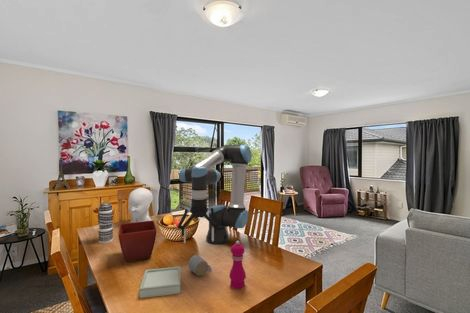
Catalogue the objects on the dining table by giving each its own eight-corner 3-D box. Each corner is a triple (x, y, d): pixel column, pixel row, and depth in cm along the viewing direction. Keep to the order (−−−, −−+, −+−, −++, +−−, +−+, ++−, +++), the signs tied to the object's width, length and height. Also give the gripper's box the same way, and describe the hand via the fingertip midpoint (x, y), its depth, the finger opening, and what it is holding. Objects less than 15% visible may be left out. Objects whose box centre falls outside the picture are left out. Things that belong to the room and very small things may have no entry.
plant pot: (118, 266, 124) (118, 234, 123) (119, 252, 141) (119, 223, 141) (156, 259, 131) (156, 229, 131) (153, 247, 149) (153, 220, 148)
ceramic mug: (196, 278, 112) (196, 262, 112) (187, 272, 118) (188, 256, 118) (214, 272, 118) (215, 256, 118) (206, 266, 125) (206, 251, 125)
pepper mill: (228, 281, 110) (229, 238, 110) (244, 280, 111) (244, 237, 110) (229, 290, 103) (230, 244, 102) (246, 289, 103) (246, 243, 103)
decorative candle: (114, 241, 158) (114, 203, 157) (98, 244, 153) (98, 205, 152) (112, 237, 166) (112, 201, 165) (97, 239, 160) (97, 202, 160)
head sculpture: (119, 228, 184) (119, 189, 184) (136, 220, 207) (136, 185, 206) (143, 230, 181) (143, 190, 180) (157, 221, 203) (157, 186, 203)
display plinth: (180, 274, 116) (180, 266, 116) (180, 293, 100) (180, 284, 100) (145, 277, 112) (145, 269, 112) (139, 298, 97) (139, 288, 97)
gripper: (223, 196, 123) (222, 237, 124) (173, 197, 118) (172, 240, 118) (225, 198, 116) (225, 242, 116) (172, 200, 111) (172, 246, 111)
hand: (198, 241), depth 117 cm, fingers open, 13 cm apart
